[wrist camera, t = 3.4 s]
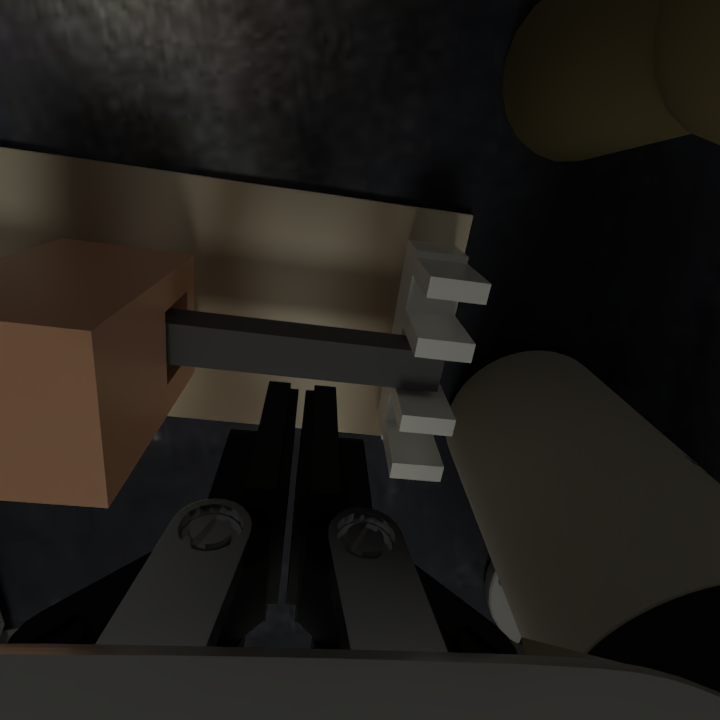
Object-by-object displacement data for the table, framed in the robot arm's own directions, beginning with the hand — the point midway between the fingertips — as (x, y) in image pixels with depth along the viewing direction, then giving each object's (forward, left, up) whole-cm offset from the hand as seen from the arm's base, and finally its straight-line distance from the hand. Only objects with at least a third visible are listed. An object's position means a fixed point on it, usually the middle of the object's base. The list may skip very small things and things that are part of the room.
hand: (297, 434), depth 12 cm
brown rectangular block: (+7, 0, -9) cm, 12 cm away
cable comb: (-5, 0, -10) cm, 11 cm away
